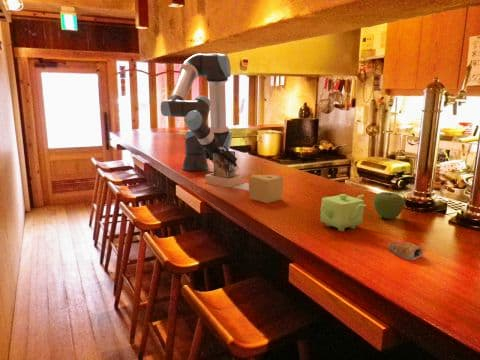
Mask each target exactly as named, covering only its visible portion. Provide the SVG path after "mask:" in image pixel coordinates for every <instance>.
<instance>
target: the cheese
mask: <svg viewBox="0 0 480 360" xmlns="http://www.w3.org/2000/svg"><path fill="white" fill-rule="evenodd" d="M283 181H284V178H283V177H282V176H279V175H276V174H275V175H274V174H268V175H267V174H266V175H265V174H255V175H254V174H253V175H250V176H249V178H248V183H249V191H248V193H249V200H253V201H256V202H261V203H263V204H271V203H273V202H277V201H281V200H282V197H283V187H284V184H283Z"/></svg>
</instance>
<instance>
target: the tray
mask: <svg viewBox="0 0 480 360" xmlns="http://www.w3.org/2000/svg"><path fill="white" fill-rule="evenodd" d="M204 180H205V181H204V182H205V184H211V185H214V186H219V187H224V188H231V187H232V188H233V187H234V186H238V185H241V184H244V175H242V174H237V173H235V177H234V178H230V179H227V178H222V177H216V176H214V172H212V173H209V174H205V179H204Z"/></svg>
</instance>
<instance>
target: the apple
mask: <svg viewBox="0 0 480 360" xmlns="http://www.w3.org/2000/svg"><path fill="white" fill-rule="evenodd" d="M372 202H373V206H374V208H375V211H376V213H377V215H379V216H380V217H381V218H383V219H384V220H385V219H386V220H394V219H396V218H397V217H399V216H400V214H401V213H402V211H403V210H404V208H405V206H406V204H407V203H406V200H405V198H404V197H403V196H402V195H399V193H397V192H396V193H395V192H391V191H390V192H388V191H387V192H385V191H380V192H379V193H377V194H376V195H375V196H374V198H373V201H372Z"/></svg>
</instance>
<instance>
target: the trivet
mask: <svg viewBox="0 0 480 360" xmlns="http://www.w3.org/2000/svg"><path fill="white" fill-rule="evenodd" d="M232 188H233V189H236V190H241V191H245V192H249V182H246V183H245V182H244V183H243V184H239V185H236V186H232Z"/></svg>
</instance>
